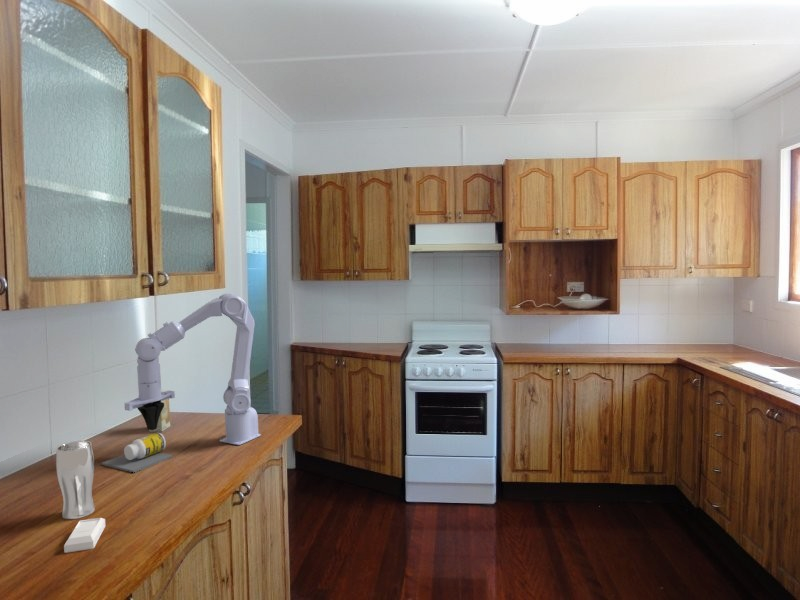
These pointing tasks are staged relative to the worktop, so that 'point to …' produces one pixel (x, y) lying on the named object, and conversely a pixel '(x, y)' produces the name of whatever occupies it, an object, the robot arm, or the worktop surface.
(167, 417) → the skincare box
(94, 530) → the soap bar
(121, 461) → the mat
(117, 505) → the worktop surface
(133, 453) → the supplement bottle
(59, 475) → the beer glass
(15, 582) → the worktop surface
